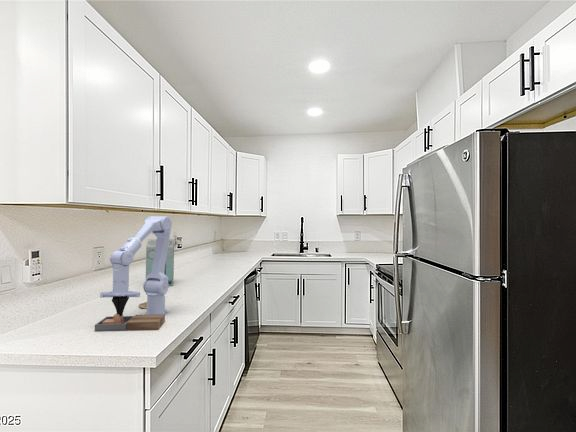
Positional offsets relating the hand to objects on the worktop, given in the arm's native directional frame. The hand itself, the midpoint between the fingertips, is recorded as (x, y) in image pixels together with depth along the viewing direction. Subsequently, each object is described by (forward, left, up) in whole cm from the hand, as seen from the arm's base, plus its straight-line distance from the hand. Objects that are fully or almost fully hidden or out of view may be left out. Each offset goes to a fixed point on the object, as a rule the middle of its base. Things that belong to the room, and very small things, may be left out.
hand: (119, 315), depth 142 cm
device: (-94, -6, -5) cm, 95 cm away
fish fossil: (-42, +3, -5) cm, 43 cm away
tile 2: (0, +1, -1) cm, 1 cm away
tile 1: (0, -3, -2) cm, 4 cm away
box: (0, -1, -4) cm, 5 cm away
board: (0, +10, -4) cm, 11 cm away
